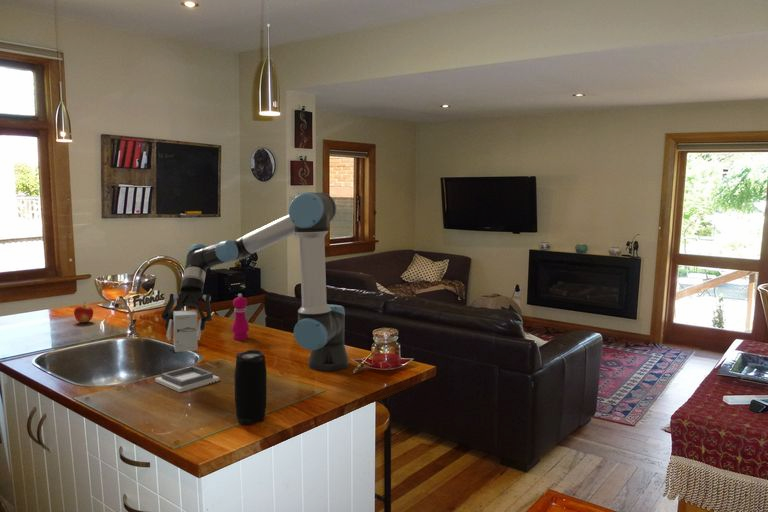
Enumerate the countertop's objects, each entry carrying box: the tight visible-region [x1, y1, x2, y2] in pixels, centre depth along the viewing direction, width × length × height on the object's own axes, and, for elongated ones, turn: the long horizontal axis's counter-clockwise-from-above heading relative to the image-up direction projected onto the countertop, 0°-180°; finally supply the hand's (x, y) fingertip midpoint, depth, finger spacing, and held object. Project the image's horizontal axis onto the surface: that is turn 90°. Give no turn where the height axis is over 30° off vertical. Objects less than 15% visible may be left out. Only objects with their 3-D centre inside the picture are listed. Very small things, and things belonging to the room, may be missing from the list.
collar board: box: [154, 365, 220, 393], centre depth 192 cm, size 15×15×3 cm
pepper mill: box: [231, 293, 250, 341], centre depth 247 cm, size 7×7×20 cm
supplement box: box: [172, 309, 199, 353], centre depth 191 cm, size 7×7×13 cm
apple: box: [73, 302, 94, 324], centre depth 270 cm, size 8×8×10 cm
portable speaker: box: [234, 349, 268, 426], centre depth 161 cm, size 9×9×20 cm
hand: (183, 338), depth 188 cm, fingers closed on supplement box, 9 cm apart
